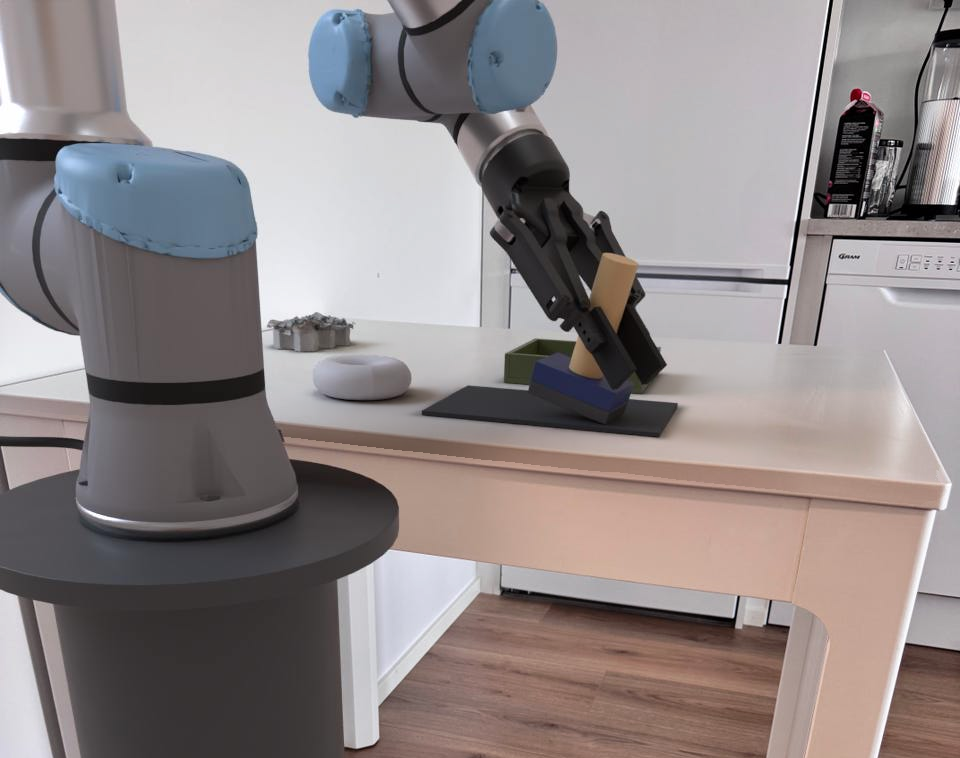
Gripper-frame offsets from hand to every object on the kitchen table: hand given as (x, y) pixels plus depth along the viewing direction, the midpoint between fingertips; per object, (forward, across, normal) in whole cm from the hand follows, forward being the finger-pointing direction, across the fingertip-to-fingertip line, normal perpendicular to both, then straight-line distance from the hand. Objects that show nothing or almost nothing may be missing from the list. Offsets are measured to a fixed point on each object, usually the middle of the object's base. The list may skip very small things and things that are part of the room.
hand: (639, 376), depth 82 cm
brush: (-2, 0, +7) cm, 8 cm away
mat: (-4, +1, +11) cm, 12 cm away
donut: (-16, -10, +23) cm, 30 cm away
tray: (-12, +16, +18) cm, 27 cm away
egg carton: (-38, +4, +44) cm, 58 cm away
